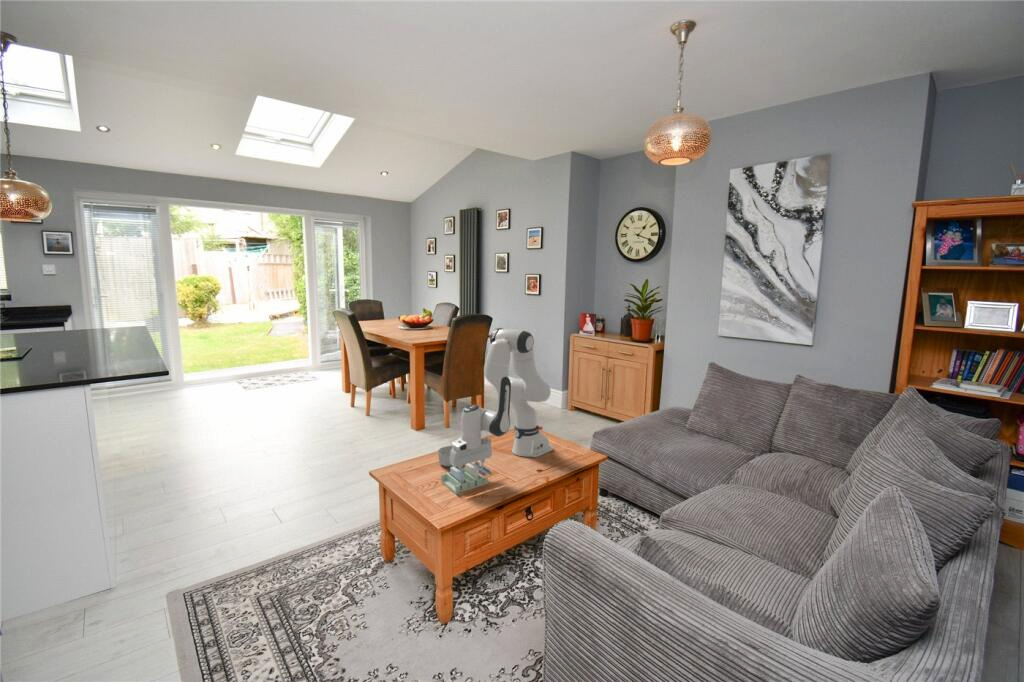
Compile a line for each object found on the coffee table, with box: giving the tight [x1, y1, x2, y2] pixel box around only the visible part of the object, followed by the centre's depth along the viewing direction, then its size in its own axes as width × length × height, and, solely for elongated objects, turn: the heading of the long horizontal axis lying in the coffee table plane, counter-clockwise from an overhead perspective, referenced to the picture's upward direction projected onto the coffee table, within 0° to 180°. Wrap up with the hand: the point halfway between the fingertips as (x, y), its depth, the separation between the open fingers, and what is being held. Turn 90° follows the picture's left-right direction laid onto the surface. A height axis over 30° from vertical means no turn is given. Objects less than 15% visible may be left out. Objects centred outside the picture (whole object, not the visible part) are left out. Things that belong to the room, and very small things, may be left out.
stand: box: [470, 461, 492, 476], centre depth 217 cm, size 5×13×2 cm, turn 35°
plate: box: [464, 463, 480, 480], centre depth 205 cm, size 2×9×6 cm, turn 35°
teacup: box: [437, 444, 453, 468], centre depth 224 cm, size 14×11×8 cm
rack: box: [440, 466, 489, 495], centre depth 203 cm, size 16×14×7 cm
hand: (471, 470), depth 205 cm, fingers open, 8 cm apart
